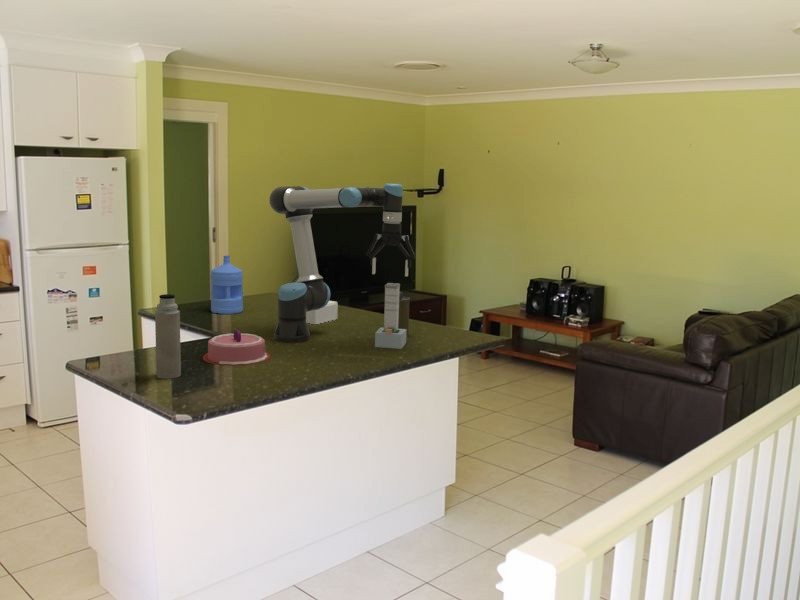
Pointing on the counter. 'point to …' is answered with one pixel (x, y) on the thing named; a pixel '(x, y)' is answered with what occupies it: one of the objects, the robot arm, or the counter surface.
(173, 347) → the thermos bottle
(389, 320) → the column
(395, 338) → the stand base
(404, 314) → the canister
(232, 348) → the cake
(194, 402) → the counter surface
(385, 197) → the robot arm
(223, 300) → the water jug
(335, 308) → the white box
